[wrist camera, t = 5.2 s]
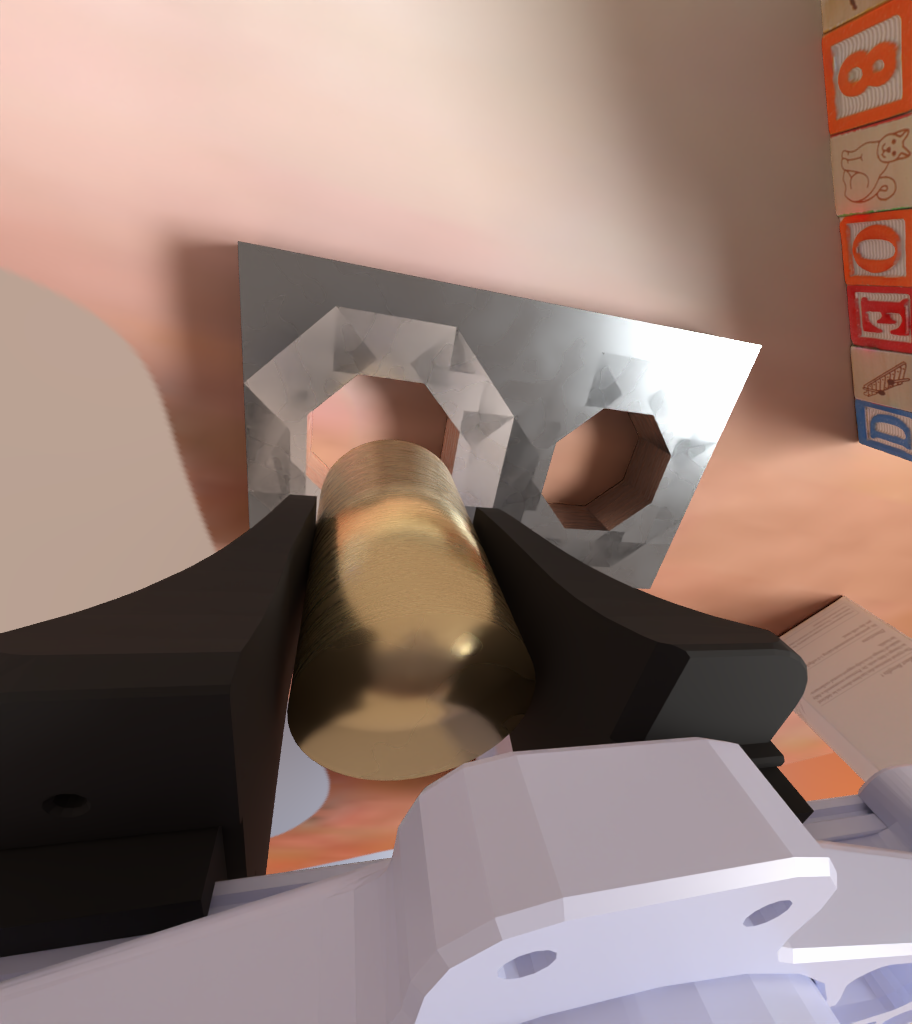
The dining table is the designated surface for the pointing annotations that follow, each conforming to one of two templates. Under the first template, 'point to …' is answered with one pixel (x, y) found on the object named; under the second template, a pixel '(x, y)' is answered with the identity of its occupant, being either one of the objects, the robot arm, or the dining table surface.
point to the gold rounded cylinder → (402, 625)
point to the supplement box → (856, 685)
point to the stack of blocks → (874, 204)
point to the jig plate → (486, 394)
